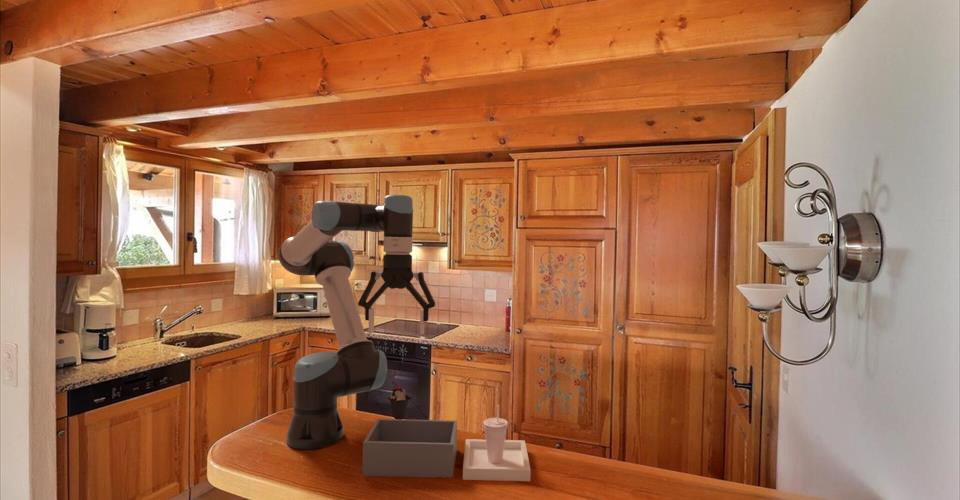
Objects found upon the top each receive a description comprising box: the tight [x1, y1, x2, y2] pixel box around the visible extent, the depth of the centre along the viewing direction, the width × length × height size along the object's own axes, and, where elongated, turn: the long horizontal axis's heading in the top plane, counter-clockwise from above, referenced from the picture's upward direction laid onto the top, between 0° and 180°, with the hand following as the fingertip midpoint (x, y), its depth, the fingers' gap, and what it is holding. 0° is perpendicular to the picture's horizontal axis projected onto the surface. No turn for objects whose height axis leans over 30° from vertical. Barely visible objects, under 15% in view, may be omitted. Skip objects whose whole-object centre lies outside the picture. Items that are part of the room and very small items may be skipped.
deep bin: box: [362, 418, 458, 479], centre depth 115 cm, size 22×15×8 cm
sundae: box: [387, 381, 412, 419], centre depth 134 cm, size 7×7×15 cm
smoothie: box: [482, 404, 509, 463], centre depth 115 cm, size 6×6×14 cm
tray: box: [462, 438, 531, 482], centre depth 115 cm, size 16×16×3 cm
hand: (396, 333), depth 121 cm, fingers open, 13 cm apart
